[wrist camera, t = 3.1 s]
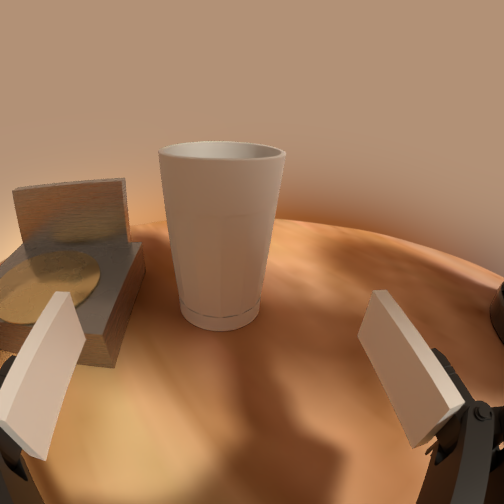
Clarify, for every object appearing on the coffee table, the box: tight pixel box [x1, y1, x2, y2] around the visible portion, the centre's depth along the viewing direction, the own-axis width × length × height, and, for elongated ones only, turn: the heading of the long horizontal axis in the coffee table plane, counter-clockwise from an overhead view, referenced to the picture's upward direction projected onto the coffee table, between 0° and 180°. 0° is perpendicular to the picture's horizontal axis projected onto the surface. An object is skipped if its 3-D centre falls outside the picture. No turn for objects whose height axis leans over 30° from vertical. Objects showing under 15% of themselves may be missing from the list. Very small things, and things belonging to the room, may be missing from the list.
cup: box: [158, 141, 286, 331], centre depth 21 cm, size 8×8×12 cm
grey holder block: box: [0, 178, 146, 368], centre depth 19 cm, size 14×12×9 cm
